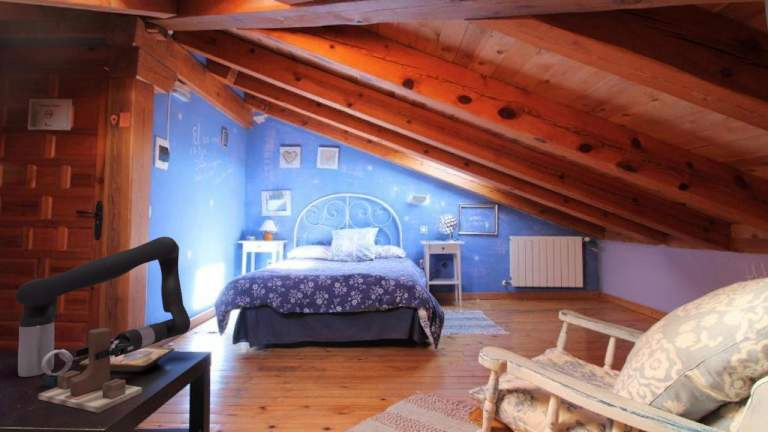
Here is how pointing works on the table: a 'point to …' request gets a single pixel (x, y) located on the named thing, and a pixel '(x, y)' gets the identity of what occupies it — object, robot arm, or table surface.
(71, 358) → the watch
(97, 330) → the wooden block
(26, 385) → the table surface
